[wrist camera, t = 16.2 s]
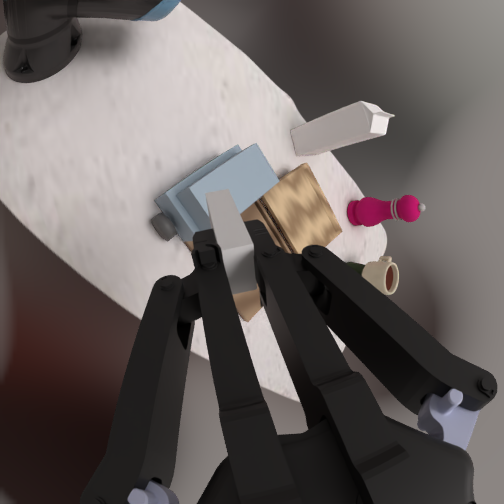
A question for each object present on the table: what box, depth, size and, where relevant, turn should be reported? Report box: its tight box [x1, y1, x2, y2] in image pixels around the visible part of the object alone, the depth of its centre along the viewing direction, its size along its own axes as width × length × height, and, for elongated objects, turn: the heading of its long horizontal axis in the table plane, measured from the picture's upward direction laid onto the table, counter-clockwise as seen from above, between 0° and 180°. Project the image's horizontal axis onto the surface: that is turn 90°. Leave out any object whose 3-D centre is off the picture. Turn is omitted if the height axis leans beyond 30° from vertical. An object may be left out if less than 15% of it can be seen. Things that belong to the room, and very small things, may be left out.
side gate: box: [261, 163, 342, 254], centre depth 52 cm, size 16×2×11 cm
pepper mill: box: [347, 195, 426, 227], centre depth 58 cm, size 7×7×20 cm
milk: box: [291, 101, 395, 156], centre depth 48 cm, size 6×6×22 cm
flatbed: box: [184, 199, 292, 322], centre depth 48 cm, size 18×15×2 cm
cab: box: [152, 143, 279, 242], centre depth 40 cm, size 8×19×12 cm, turn 129°
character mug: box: [346, 256, 399, 295], centre depth 60 cm, size 11×7×13 cm, turn 148°
